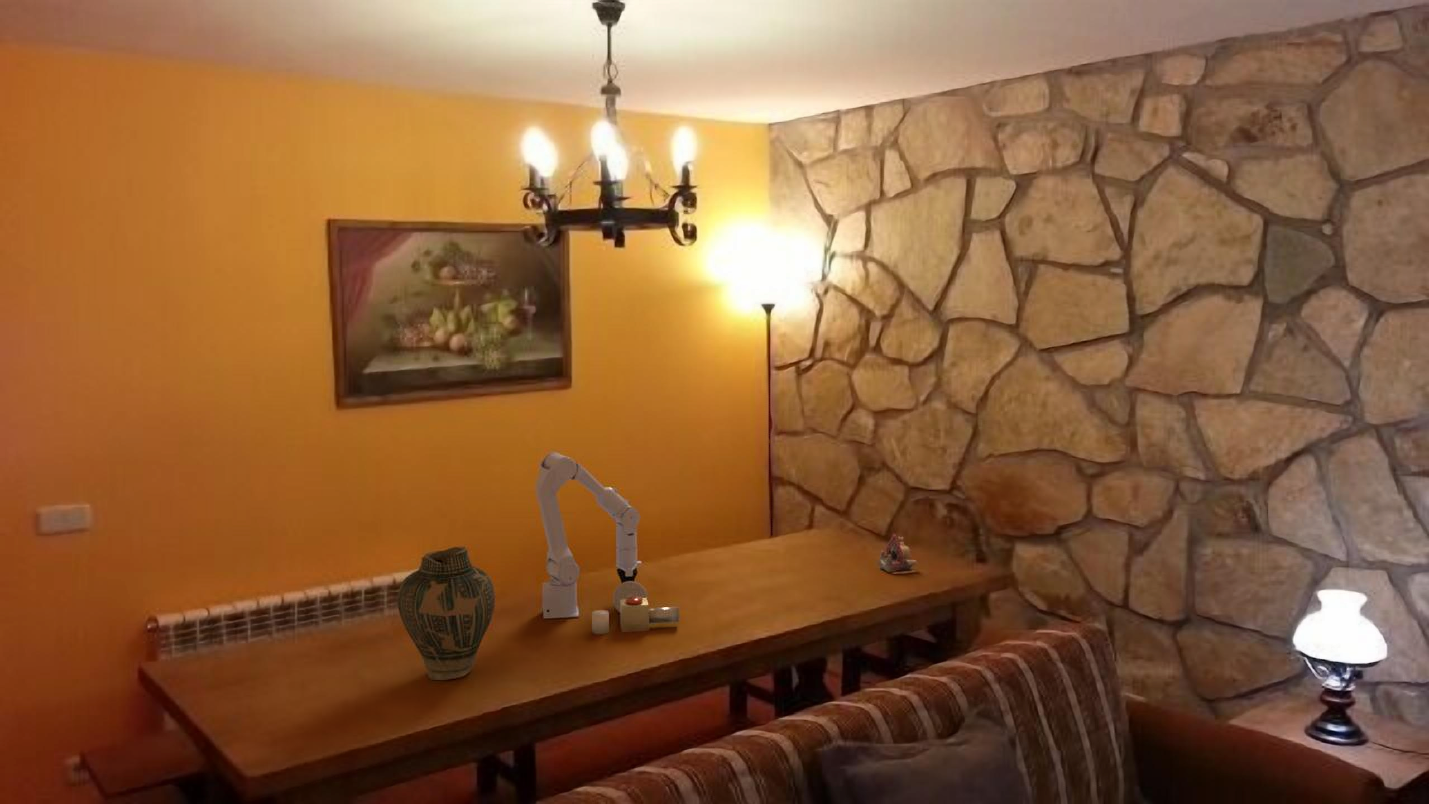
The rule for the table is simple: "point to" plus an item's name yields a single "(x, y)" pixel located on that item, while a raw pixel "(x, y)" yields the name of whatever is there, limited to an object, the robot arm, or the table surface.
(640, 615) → the beige red button device
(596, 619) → the pvc coupling
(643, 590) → the showerhead
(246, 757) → the table surface
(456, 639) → the vase
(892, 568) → the grey pink figurine
